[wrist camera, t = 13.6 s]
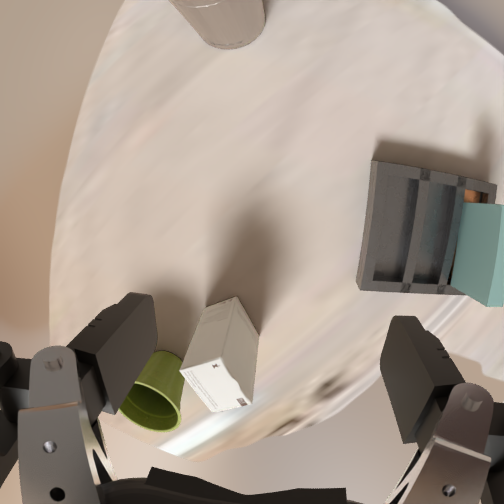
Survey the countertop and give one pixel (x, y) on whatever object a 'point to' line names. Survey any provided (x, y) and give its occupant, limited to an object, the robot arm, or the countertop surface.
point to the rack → (414, 228)
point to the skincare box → (223, 357)
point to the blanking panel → (480, 254)
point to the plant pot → (156, 394)
